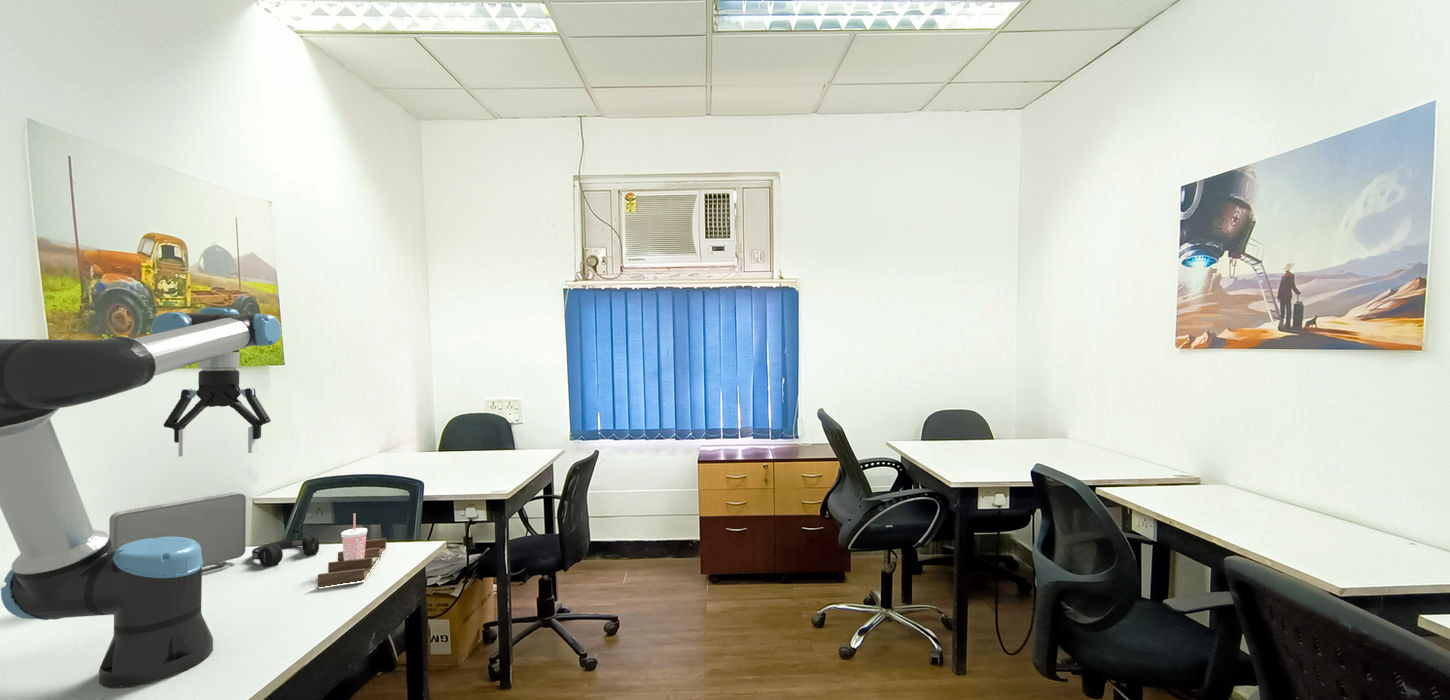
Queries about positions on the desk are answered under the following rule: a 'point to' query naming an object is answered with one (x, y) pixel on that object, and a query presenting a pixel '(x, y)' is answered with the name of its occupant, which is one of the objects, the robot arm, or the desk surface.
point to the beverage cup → (354, 542)
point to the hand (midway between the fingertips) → (218, 453)
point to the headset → (274, 553)
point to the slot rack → (352, 565)
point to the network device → (189, 526)
